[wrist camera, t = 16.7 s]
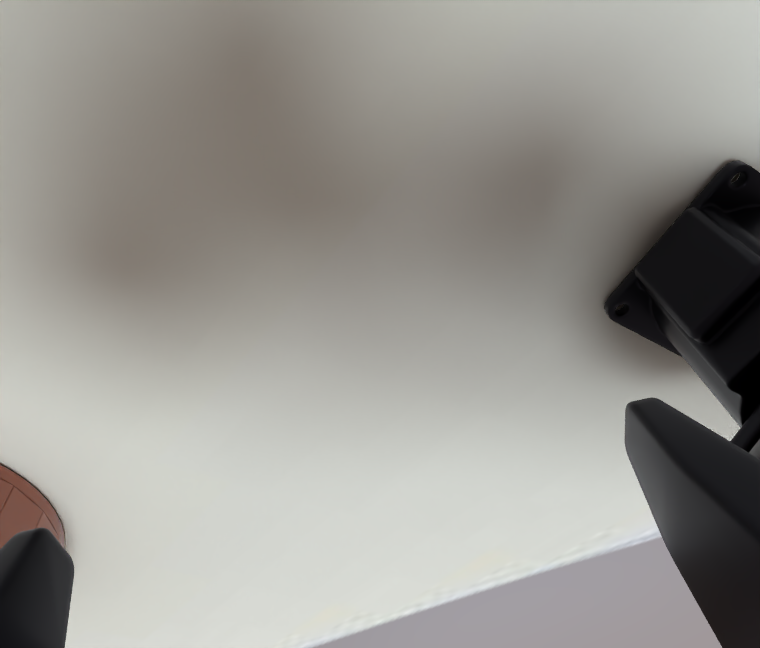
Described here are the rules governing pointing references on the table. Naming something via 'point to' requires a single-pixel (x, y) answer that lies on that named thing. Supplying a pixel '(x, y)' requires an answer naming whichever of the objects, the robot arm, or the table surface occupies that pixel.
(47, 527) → the crock
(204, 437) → the table surface
